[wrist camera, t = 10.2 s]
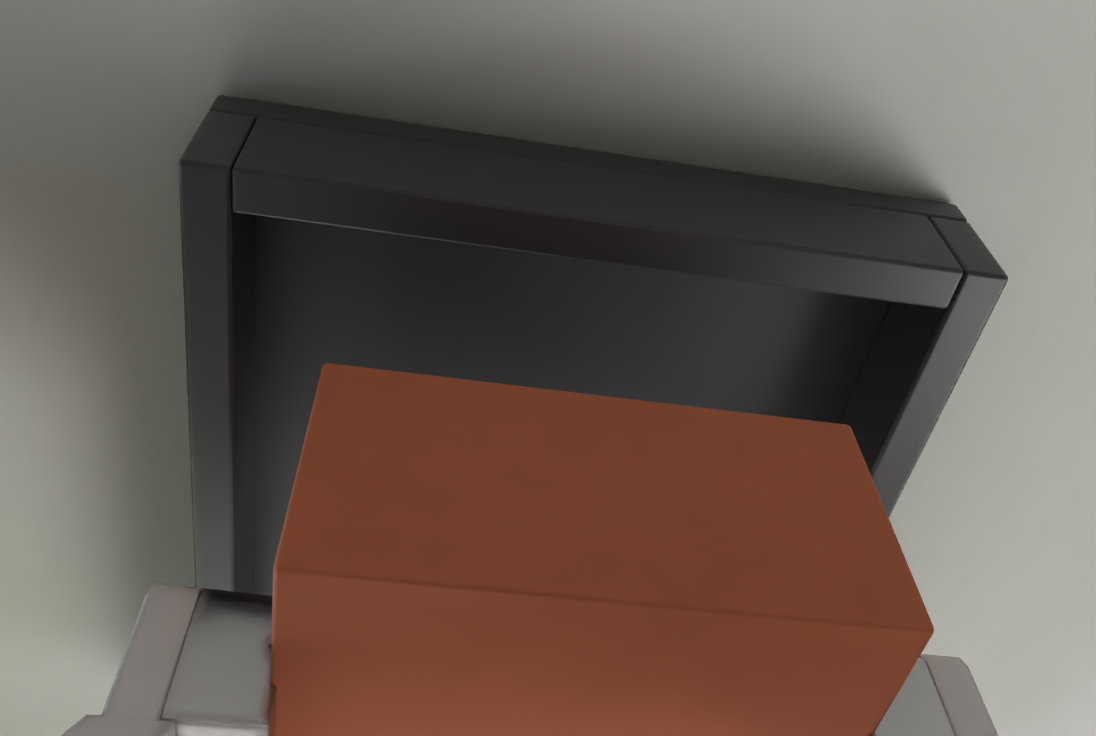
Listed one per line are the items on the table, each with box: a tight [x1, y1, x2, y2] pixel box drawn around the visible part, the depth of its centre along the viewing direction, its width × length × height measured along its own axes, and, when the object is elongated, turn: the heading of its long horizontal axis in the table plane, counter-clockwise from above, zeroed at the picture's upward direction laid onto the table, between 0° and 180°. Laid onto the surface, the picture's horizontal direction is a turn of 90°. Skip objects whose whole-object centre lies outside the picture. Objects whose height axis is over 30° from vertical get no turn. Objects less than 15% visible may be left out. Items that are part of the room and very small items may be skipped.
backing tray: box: [178, 96, 1008, 596], centre depth 17 cm, size 10×13×2 cm
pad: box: [270, 363, 934, 736], centre depth 12 cm, size 6×5×3 cm
